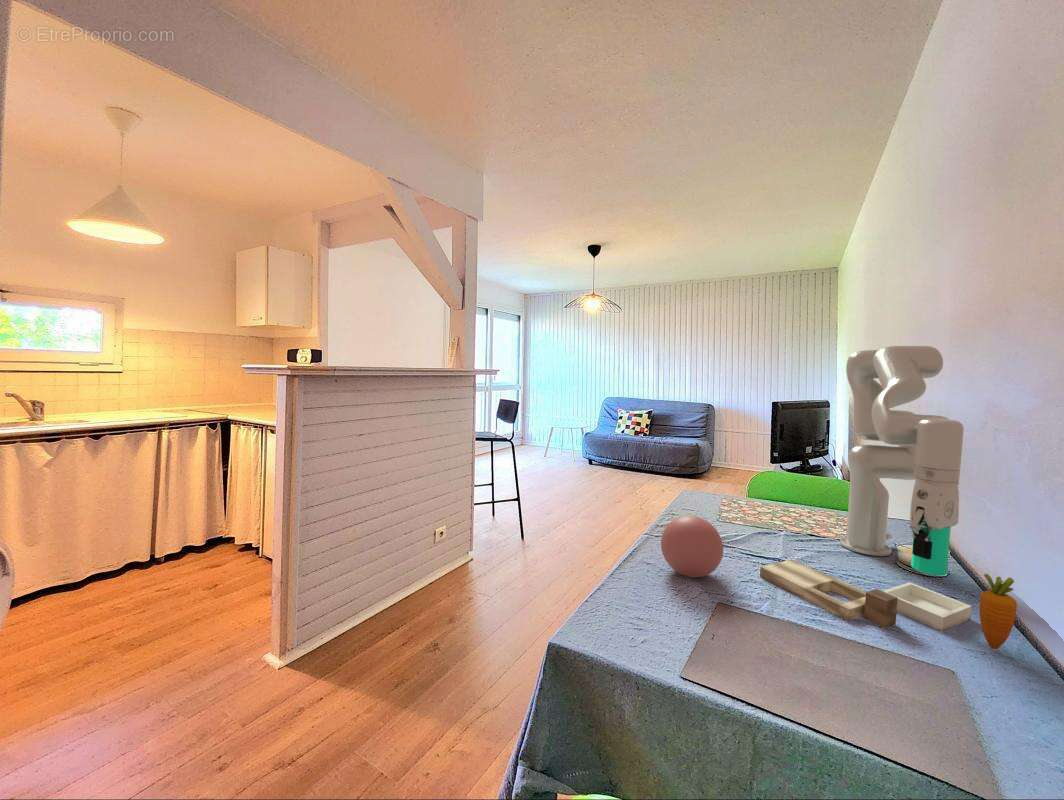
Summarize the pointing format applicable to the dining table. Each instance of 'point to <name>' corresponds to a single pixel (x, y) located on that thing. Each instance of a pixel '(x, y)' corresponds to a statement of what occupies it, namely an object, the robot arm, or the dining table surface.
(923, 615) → the tray
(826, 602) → the wooden slotted peg board
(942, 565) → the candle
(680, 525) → the brown egg
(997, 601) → the carrot
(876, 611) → the block
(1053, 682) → the dining table surface
